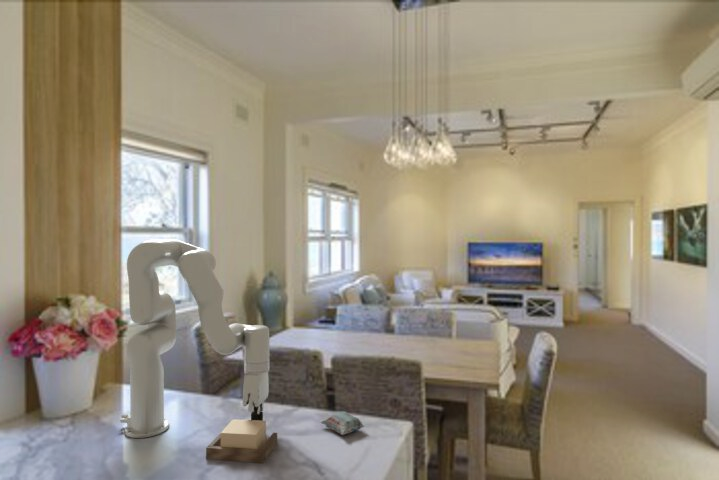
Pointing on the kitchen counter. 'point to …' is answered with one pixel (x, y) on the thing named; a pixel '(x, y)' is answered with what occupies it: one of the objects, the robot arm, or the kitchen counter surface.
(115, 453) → the kitchen counter surface
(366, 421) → the kitchen counter surface
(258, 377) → the robot arm
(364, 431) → the kitchen counter surface
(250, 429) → the carton
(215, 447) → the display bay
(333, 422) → the packaged food
